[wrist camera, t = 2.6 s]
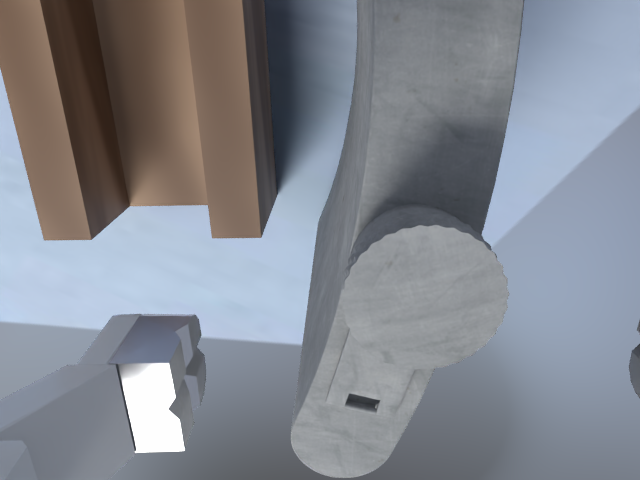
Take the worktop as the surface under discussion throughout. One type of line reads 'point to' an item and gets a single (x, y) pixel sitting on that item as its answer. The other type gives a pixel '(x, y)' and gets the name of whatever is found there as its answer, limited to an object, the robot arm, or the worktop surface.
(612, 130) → the worktop surface
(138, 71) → the u rest
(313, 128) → the worktop surface
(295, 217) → the worktop surface
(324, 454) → the hip flask
